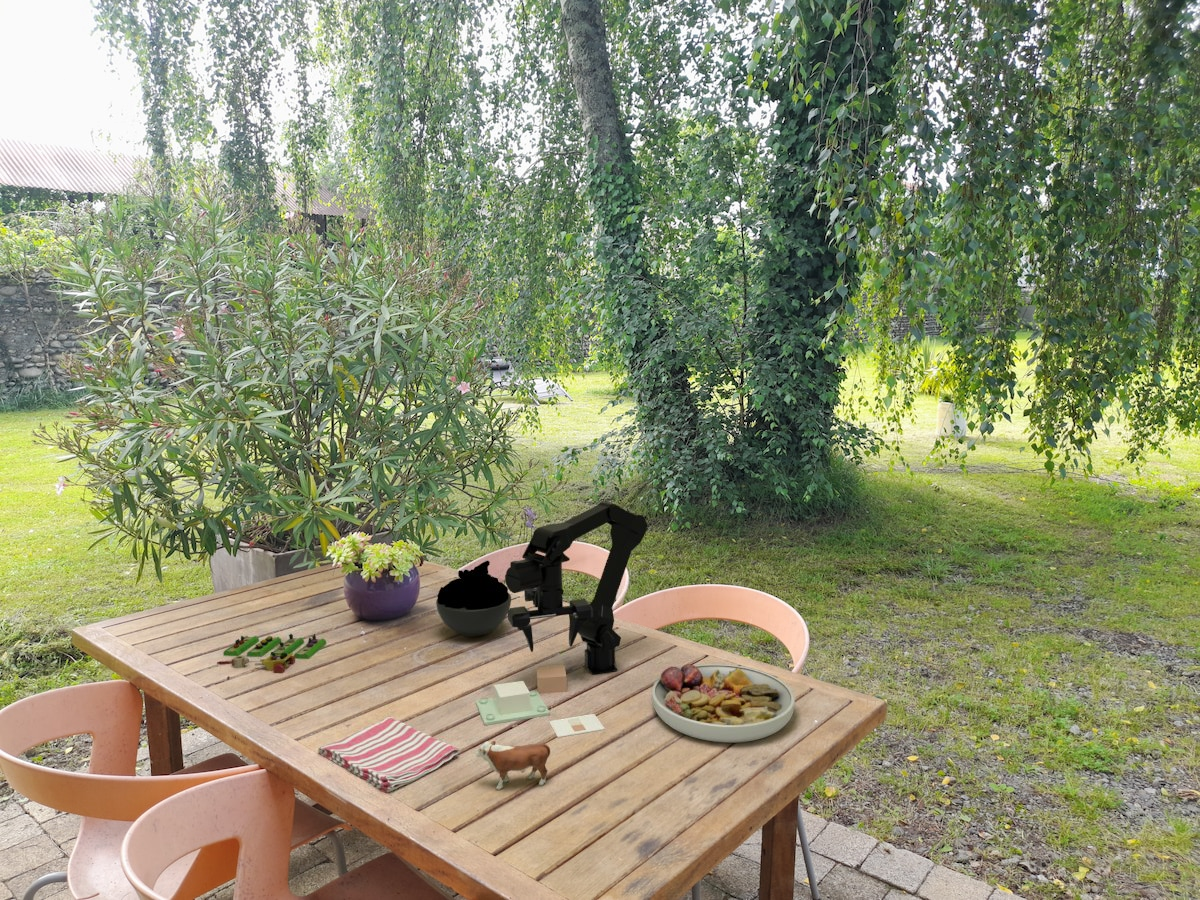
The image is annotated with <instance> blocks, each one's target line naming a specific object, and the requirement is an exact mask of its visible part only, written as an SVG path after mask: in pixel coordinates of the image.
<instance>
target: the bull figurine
mask: <svg viewBox="0 0 1200 900" xmlns="http://www.w3.org/2000/svg"><path fill="white" fill-rule="evenodd" d="M475 754H476V755H475V756H476V757H478V758H480V757H481V758H483V760H484V761H486V762H488V764H489V766H490V768H491V769H492V770H493V771H494V772H495V773H497V774H499V776H498V780H499V781H498V783H497V786H496V787H495V791H501V789H503V788H504V785H503V783H507V782H508V781H510V776H509V772H521V773H525V772H526V770H527V769H529V768H531V767H532V769H531V771H530V773H529V774H528V775H527V776H526V778H525V779H526V780H531V779H532V778H535V775H536V773H537V771H538V772H539V774H540V780H539V781H538V787H542V786H544V783H545V784H546V778H547V774H548V769H547V767H546V763H547V760H548V759H549V757H550V755H551V747H550V746H549V745H548V744H546V743H537V744H535V743H534V744H530V743H529V744H526V745H525V744H524V745H515V746H514V745H501V744H497V743H496V741H495V740H492V741H491V742H490V741H487V740H486V741H485V742H484V743H482V744H481V746H480V747H479V749H477V751H476V752H475Z"/></svg>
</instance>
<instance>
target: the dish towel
mask: <svg viewBox="0 0 1200 900" xmlns="http://www.w3.org/2000/svg"><path fill="white" fill-rule="evenodd" d="M317 752H318V753H319V755H321V756H322V757H323V758H326V759H329V760H330V761H332V762H334V763H335V764H337V765H339V767H340V766H341V768H345V769H347V771H349V772H351V773H352V774H354V775H356V776H358V777H359V778H361V779H364V780H365V781H364V782H367V783H368V785H369V786H374V787H375V788H376V789H377V790H378V789H379V790H381V791H382V792H383V793H390V792H392V791H395V790H396V789H398V788H401V787H402V786H404V785H405V786H406V785H408V784H411V783H412V782H414V781H417V780H418V779H420V778H422V777H424V776H426V775H427V774H429V773H430V772H433V771H435V770H437V769H438V768H440V767H441V766H442V765H443V764H445V763H447V762H448V761H450V760H451V759H453V758H457V757H458V755H459V752H460V748H457V747H455V746H453V745H452V744H449V743H448V742H444V741H441V740H438V739H436V738H434V737H432V735H429V734H428V733H426V732H423V731H419V730H417V729H416V728H414V727H412V726H410V725H409V724H406V723H404V722H402V721H400V720H398V719H395V718H394V716H392V715H390V716H387V717H385V718H383V719H381V720H380V721H378V722H375V723H372V724H370V725H368V726H366V727H364V728H362V729H360V730H356V731H355V732H353V733H351V734H349V735H347V736H345V737H343V738H340V739H339V740H336V741H334V742H330V743H326V744H324V745H321V746H320V747H319V748H318V749H317Z"/></svg>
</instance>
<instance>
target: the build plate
mask: <svg viewBox="0 0 1200 900" xmlns="http://www.w3.org/2000/svg"><path fill="white" fill-rule="evenodd" d="M529 692H530V711H525V712H518V713H512V714H506V715H500V713H499V711H498V709H497V706H496V704H495V700H494V697H490V698H486V697H481V698H479V699H477V700H475V705H476V707H477V710H478V712H479V715H480V717H481V720H482V722H483V725H484V726H490V725H496V724H502V723H509V722H515V721H521V720H522V721H523V720H527V719H528V720H529V719H533V718H540V717H546V716H550V715H551V714H550V713H551V712H550V710H549V708H548V707H547V705H546V703H545V702H544V700H543V698H542V697H541V695H540V694H539V693H538V690H529Z"/></svg>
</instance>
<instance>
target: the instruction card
mask: <svg viewBox="0 0 1200 900" xmlns="http://www.w3.org/2000/svg"><path fill="white" fill-rule="evenodd" d="M548 723H549V724H550V726H551V728H552V730H553V731H554V733H555V735H556V738H557V739H558V738H559V739H560V738H564V737H565V738H566V737H570V736H574V735H575V736H576V735H581V734H588V733H593V732H600V731H605V730H606V728H605V727H604V725H603V724H602V723H601V721H600V720H599V719H598V717H597V716H596V714H595V713H590V714H585V715H579V716H573V717H566V718H562V719H561V718H560V719H555V720H554V719H553V720H548Z"/></svg>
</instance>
